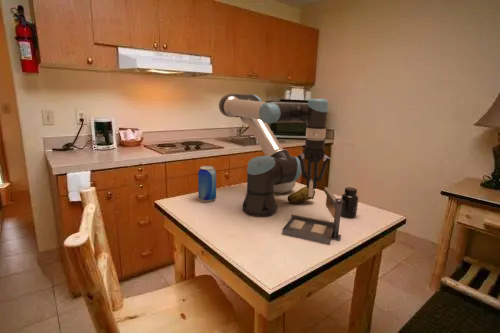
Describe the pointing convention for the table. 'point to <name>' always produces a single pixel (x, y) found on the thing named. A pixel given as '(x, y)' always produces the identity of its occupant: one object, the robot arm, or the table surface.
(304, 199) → the potato
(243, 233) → the table surface
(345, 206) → the supplement bottle
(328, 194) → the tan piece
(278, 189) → the cereal bowl
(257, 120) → the robot arm
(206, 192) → the beer can
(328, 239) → the metal plate with cutouts
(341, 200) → the post
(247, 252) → the table surface
